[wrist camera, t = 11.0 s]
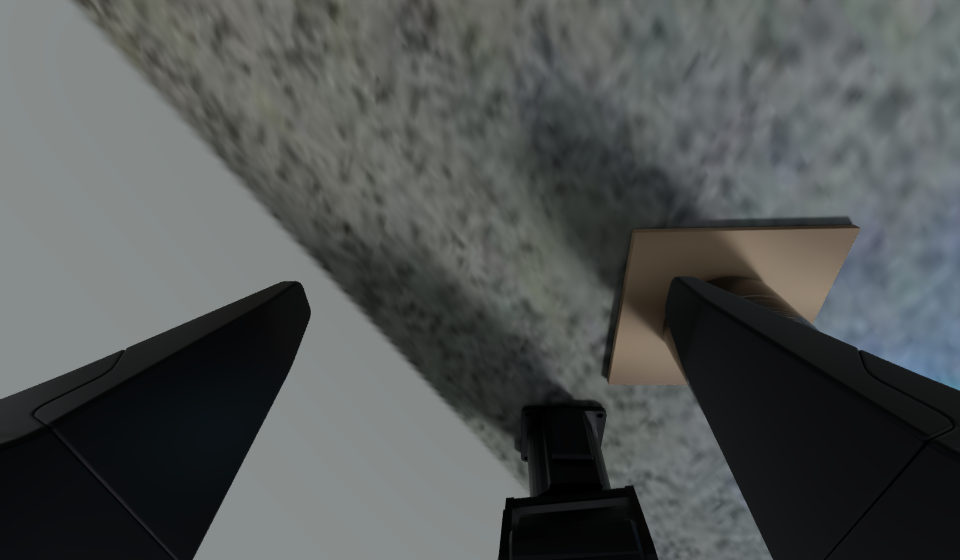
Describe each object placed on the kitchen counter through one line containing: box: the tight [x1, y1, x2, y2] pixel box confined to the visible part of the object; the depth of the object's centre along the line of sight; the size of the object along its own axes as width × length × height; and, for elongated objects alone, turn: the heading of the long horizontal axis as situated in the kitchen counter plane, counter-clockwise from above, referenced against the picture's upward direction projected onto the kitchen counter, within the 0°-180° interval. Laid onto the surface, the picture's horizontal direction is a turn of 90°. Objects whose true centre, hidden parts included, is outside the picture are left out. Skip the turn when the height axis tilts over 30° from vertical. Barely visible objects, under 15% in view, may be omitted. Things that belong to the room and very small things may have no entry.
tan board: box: [607, 225, 861, 385], centre depth 24 cm, size 12×12×1 cm
